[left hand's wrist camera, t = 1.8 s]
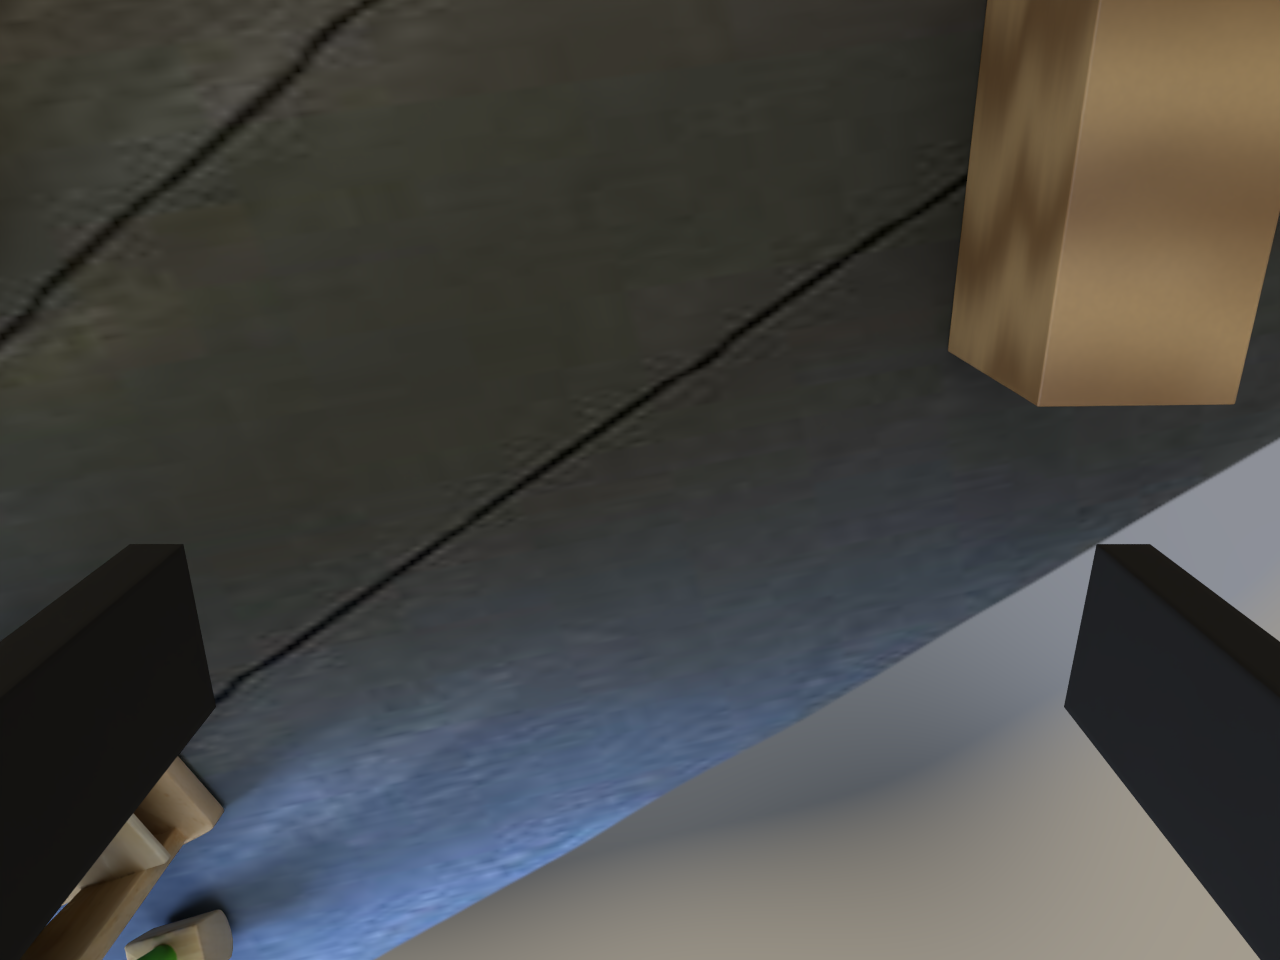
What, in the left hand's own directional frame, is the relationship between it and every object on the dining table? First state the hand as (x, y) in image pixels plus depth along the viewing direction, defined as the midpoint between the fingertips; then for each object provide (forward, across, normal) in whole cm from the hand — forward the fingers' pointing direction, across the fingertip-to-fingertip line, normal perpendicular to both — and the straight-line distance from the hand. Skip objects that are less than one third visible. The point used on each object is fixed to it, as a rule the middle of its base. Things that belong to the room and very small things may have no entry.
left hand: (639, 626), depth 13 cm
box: (+32, -19, -11) cm, 39 cm away
